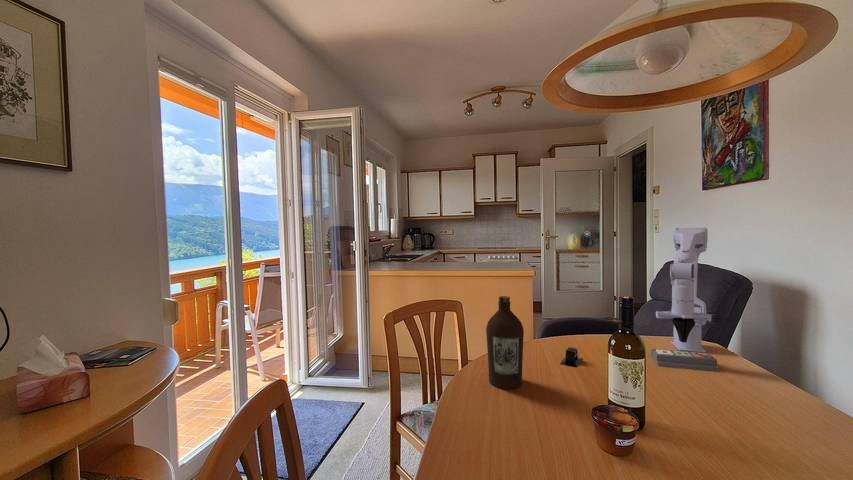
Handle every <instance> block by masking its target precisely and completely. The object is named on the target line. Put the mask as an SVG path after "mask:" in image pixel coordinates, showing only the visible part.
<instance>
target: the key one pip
mask: <svg viewBox="0 0 853 480" xmlns="http://www.w3.org/2000/svg"><path fill="white" fill-rule="evenodd" d="M669 350H670V349H662V350H656V353H657V354H661V355H673V356H674V354H673V353H672V352H671V351H669Z"/></svg>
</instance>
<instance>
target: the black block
mask: <svg viewBox="0 0 853 480" xmlns="http://www.w3.org/2000/svg"><path fill="white" fill-rule="evenodd" d="M578 356H579V352H578V348H576V347H575V348H574V347H567V349H565V356H564V358H563V359H562V360H561V362H560V363H559V365H562V366H568V367H571V368H572V367H573V368H575V369H576V368H577V369H578V367H579V366H580V365H581V363H582V362H583V361H584V358H582V357H578Z"/></svg>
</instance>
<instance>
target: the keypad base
mask: <svg viewBox="0 0 853 480" xmlns="http://www.w3.org/2000/svg"><path fill="white" fill-rule="evenodd" d="M656 350H663V349H661V348H660V349H659V348H651V351H650V354H649V357H650V358H651V360H652V362H654V363H655V364H656V366H658V367H667V368H677V369H688V370H689V369H690V370H700V371H711V372H720V368H719V366H718V359H717V358H715V357H714V356H712V355H711V354H710V353H709V352H705V353H706V354H707V355H709V356H710V357H711V358H712V359H709V358H697V357H695V356H694V355H692V354H691V352H692V351H681V350H680V351H681V352H688V353H689V354H690V355H692V356H693V357H685V356H677V355H676V354H675V353H673V351H675V350H673V349H668V350H669V351H671V352H672V353H673V354H674V356H673V355H661V354H657V353H656ZM693 352H694V351H693ZM694 353H701V352H694Z"/></svg>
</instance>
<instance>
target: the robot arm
mask: <svg viewBox="0 0 853 480" xmlns="http://www.w3.org/2000/svg"><path fill="white" fill-rule="evenodd" d="M708 232H709V231H708V228H707V227H706V226H704V227H674V229H673V232H672V233H673V234H672V236H673V237H672V239H673V240H672V241H673V244H674V248H675V250H676V252H675V253H674V258H673V259H674V260H673V263H670V266H669V276H670V277H669V278H670V284H671V286H672V287H671V310H667V311H663V310H662V311H657V310H656V311H655V317H656V319H661V320H662V319H670V320H671V322H672V323H673V340H670V344H672V345H673V346H674V347H675V348H676V349H678V351H687V352H700V353H707V351H706V349H704V348H703V347H702V326H703V325H704V326H705V325H706V324H707V322H712V315H711V314H709V313H707V305H706V302H704V301H703V300H701V298H698V297H697V295H698V294H697V293H698V272H699V271H698V270H699V269H698V267H699V266H698V265H699V264H698V263H699V258H700V255H701V253H704V252H706V251H707V249H708V235H709V234H708Z"/></svg>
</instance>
